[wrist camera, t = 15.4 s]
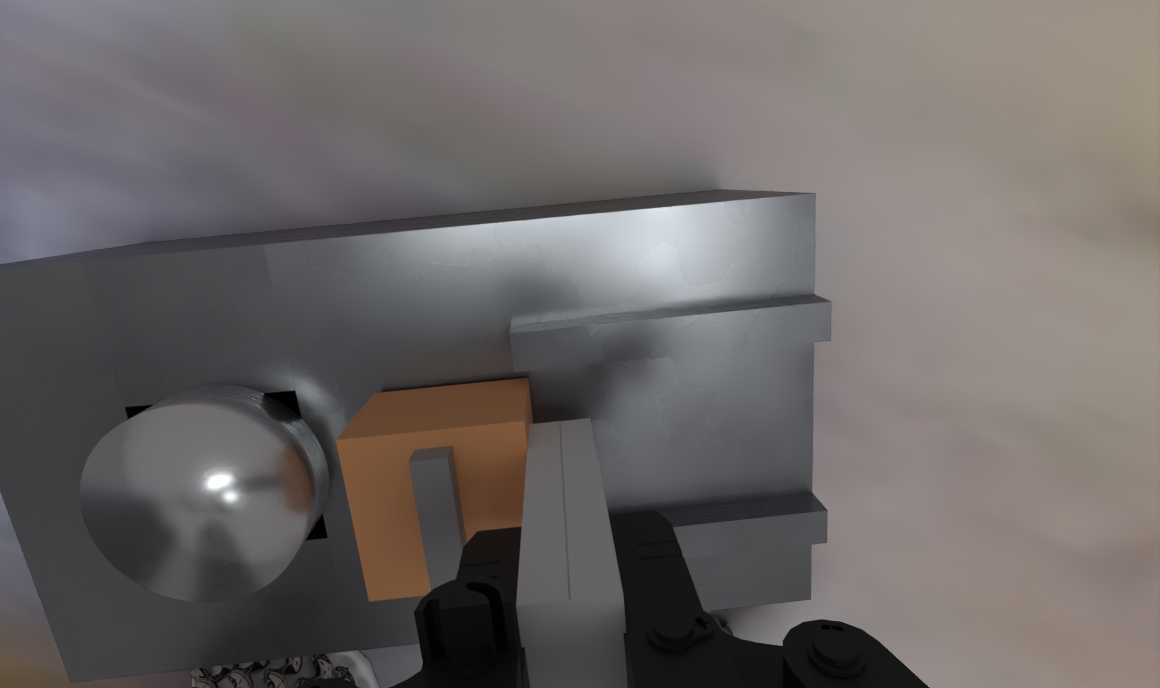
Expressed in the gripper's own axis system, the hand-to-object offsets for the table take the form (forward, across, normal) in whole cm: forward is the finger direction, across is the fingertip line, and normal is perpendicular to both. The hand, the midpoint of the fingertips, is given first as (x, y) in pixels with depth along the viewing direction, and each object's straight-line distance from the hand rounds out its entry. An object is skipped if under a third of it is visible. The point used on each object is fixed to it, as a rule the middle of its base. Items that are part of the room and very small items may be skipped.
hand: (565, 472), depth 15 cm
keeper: (+2, -3, 0) cm, 3 cm away
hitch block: (+10, -4, 0) cm, 11 cm away
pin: (+10, -9, 0) cm, 14 cm away
